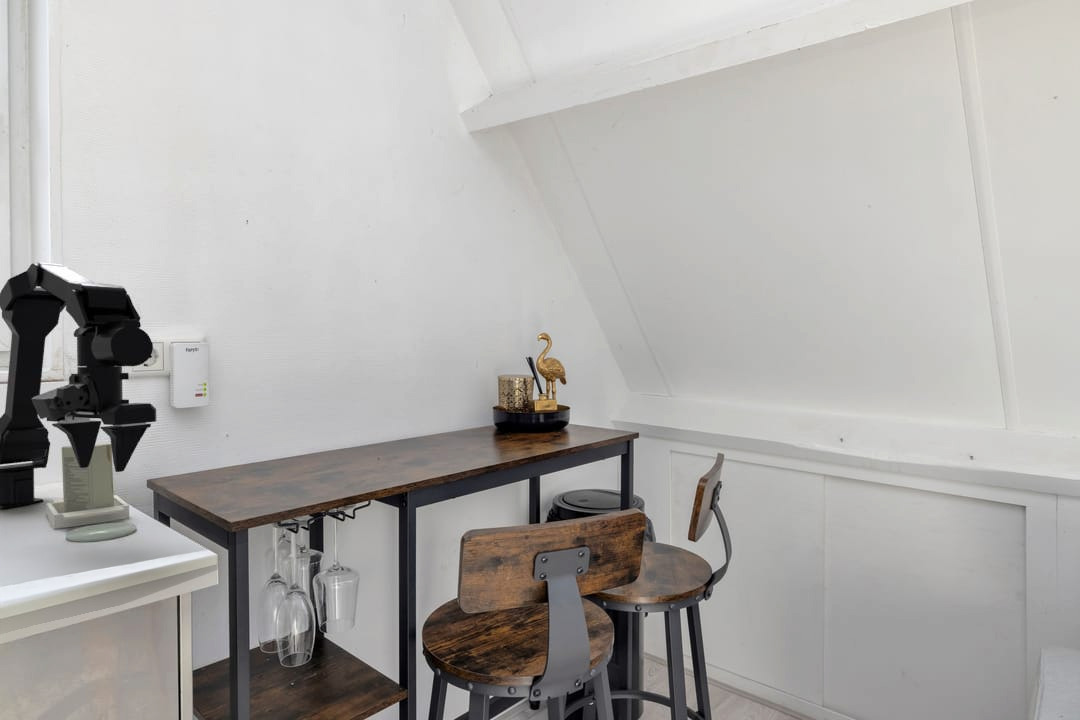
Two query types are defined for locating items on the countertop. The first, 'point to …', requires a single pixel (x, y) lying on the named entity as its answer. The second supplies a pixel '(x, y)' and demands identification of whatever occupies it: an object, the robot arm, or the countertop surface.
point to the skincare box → (88, 480)
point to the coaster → (100, 532)
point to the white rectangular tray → (85, 514)
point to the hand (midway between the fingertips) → (101, 469)
